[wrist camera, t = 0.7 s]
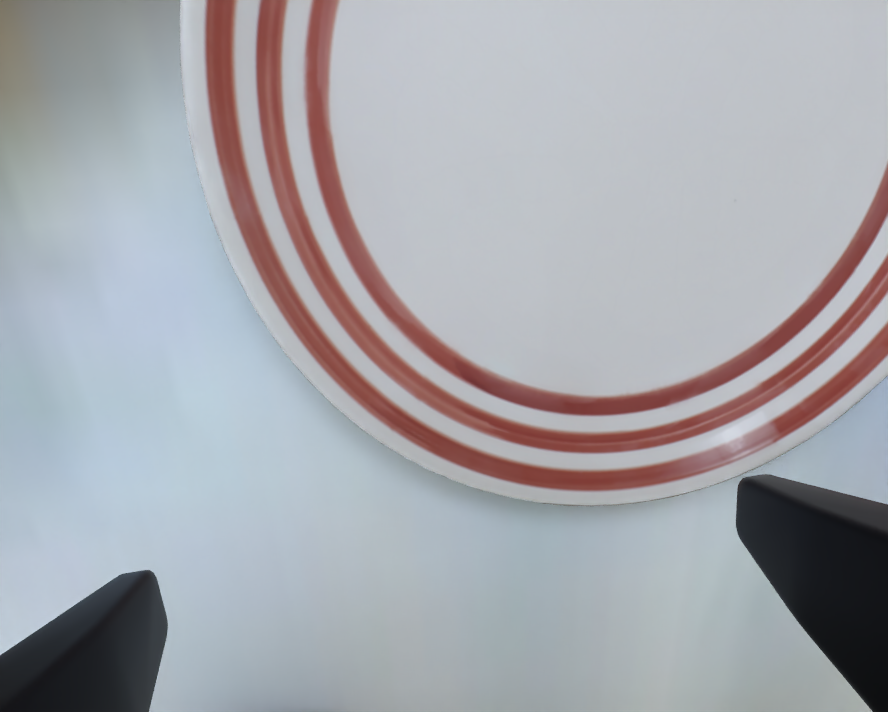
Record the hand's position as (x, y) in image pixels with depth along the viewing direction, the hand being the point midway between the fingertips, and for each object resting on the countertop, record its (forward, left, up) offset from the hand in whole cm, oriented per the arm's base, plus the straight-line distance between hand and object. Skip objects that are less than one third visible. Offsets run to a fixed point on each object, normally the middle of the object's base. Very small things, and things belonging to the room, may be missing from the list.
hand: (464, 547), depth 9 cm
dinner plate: (+8, -7, -14) cm, 17 cm away
